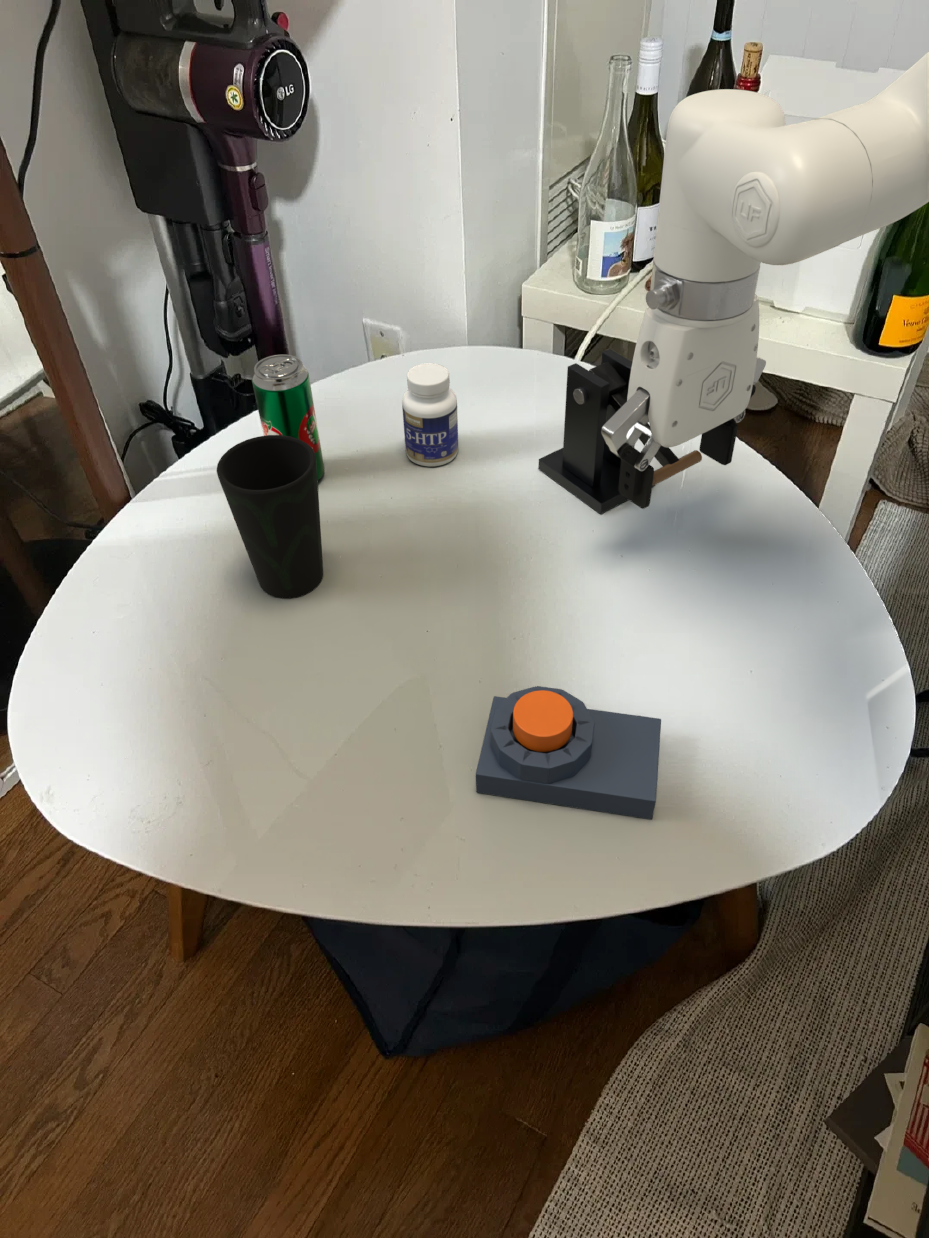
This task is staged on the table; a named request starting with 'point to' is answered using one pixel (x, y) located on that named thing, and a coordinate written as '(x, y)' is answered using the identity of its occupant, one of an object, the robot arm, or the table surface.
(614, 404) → the lever
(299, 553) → the cup
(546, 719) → the button
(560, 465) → the switch bracket
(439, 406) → the pill bottle
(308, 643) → the table surface
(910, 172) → the robot arm
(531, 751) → the control block
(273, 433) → the soda can
